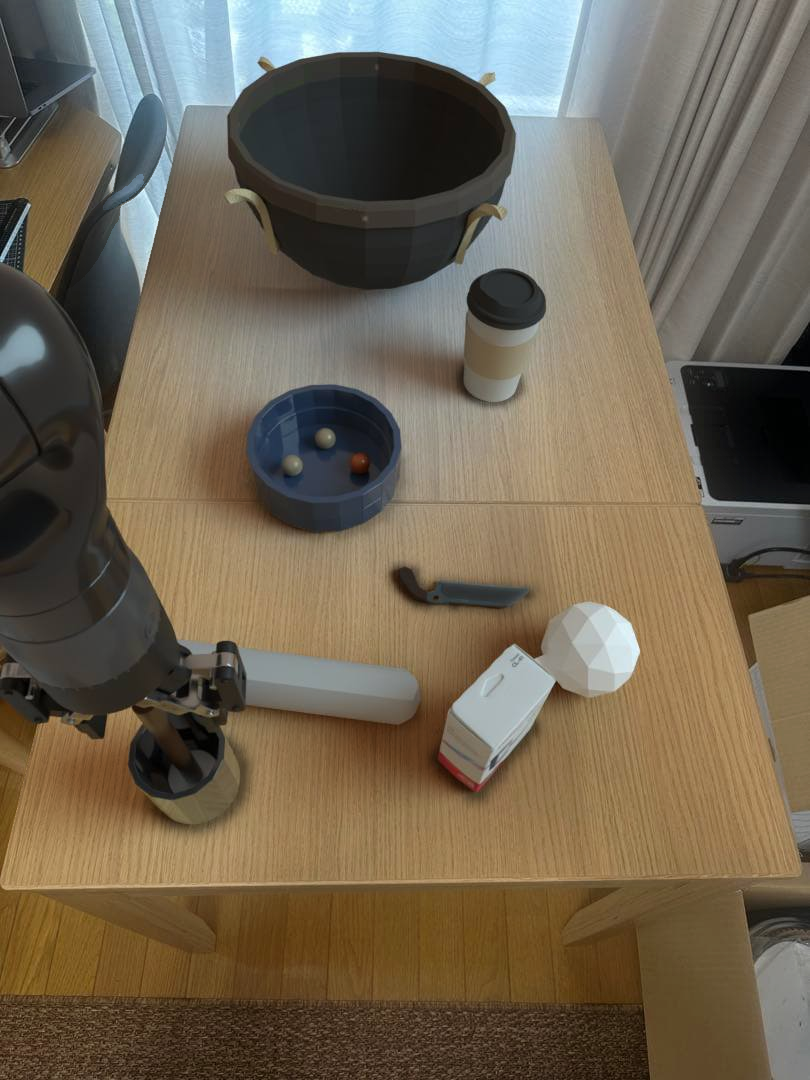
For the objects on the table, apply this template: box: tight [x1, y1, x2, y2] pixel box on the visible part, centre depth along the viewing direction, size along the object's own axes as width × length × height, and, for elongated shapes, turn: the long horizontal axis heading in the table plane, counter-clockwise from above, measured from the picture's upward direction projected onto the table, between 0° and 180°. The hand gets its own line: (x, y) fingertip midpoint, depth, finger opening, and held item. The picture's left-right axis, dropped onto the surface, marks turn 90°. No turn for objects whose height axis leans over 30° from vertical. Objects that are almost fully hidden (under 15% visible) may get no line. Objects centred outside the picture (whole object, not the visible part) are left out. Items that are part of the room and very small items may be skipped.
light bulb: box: [533, 600, 641, 699], centre depth 70 cm, size 9×9×12 cm
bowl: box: [222, 51, 517, 291], centre depth 98 cm, size 35×35×20 cm
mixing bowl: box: [245, 383, 403, 533], centre depth 83 cm, size 17×17×6 cm
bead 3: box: [349, 453, 370, 474], centre depth 84 cm, size 2×2×2 cm
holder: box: [127, 711, 241, 826], centre depth 62 cm, size 7×8×9 cm
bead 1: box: [281, 455, 303, 476], centre depth 83 cm, size 2×2×2 cm
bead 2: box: [315, 428, 336, 449], centre depth 86 cm, size 2×2×2 cm
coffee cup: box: [463, 267, 547, 403], centre depth 88 cm, size 9×9×15 cm
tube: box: [171, 638, 422, 726], centre depth 69 cm, size 5×5×25 cm
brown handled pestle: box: [131, 705, 216, 794], centre depth 57 cm, size 4×4×19 cm
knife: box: [397, 566, 531, 609], centre depth 77 cm, size 14×4×1 cm, turn 86°
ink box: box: [437, 643, 557, 793], centre depth 64 cm, size 9×5×12 cm, turn 137°
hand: (158, 722), depth 53 cm, fingers open, 7 cm apart
